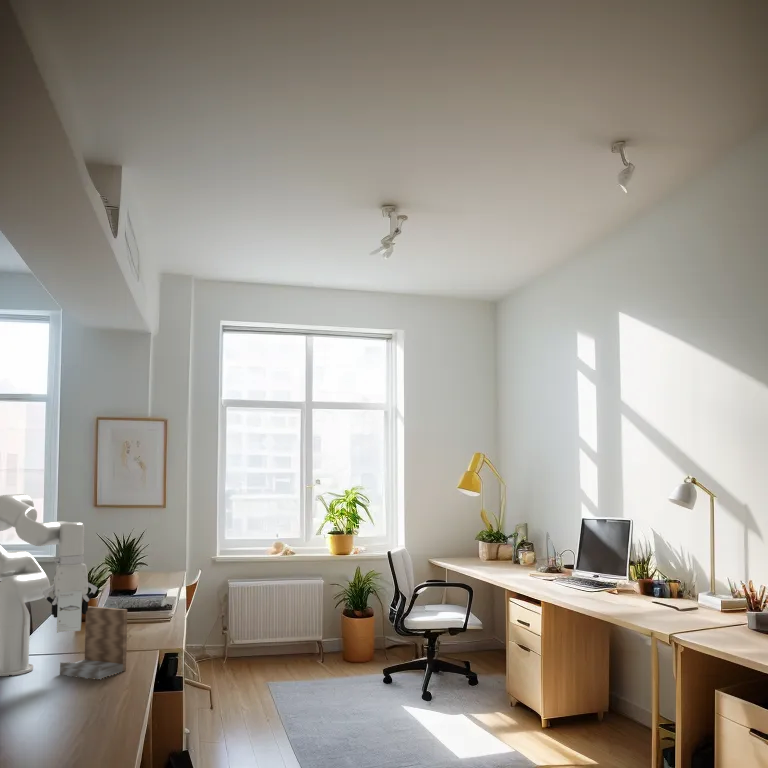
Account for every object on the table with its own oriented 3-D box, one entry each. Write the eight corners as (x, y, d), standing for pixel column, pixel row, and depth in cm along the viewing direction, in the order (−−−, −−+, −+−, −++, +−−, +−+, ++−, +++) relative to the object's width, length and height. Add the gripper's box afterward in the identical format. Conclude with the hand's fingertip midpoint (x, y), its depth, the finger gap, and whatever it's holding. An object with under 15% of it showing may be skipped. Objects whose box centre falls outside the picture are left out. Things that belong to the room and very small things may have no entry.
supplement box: (56, 633, 242) (57, 592, 243) (57, 628, 249) (58, 589, 250) (81, 631, 244) (82, 590, 246) (81, 626, 251) (82, 587, 253)
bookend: (59, 674, 250) (61, 612, 252) (87, 666, 261) (89, 606, 263) (99, 679, 243) (100, 615, 245) (126, 670, 254) (127, 609, 256)
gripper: (44, 564, 241) (42, 620, 239) (101, 559, 251) (100, 614, 249) (40, 561, 248) (38, 617, 246) (96, 557, 257) (95, 610, 255)
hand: (69, 615), depth 247 cm, fingers closed on supplement box, 8 cm apart
